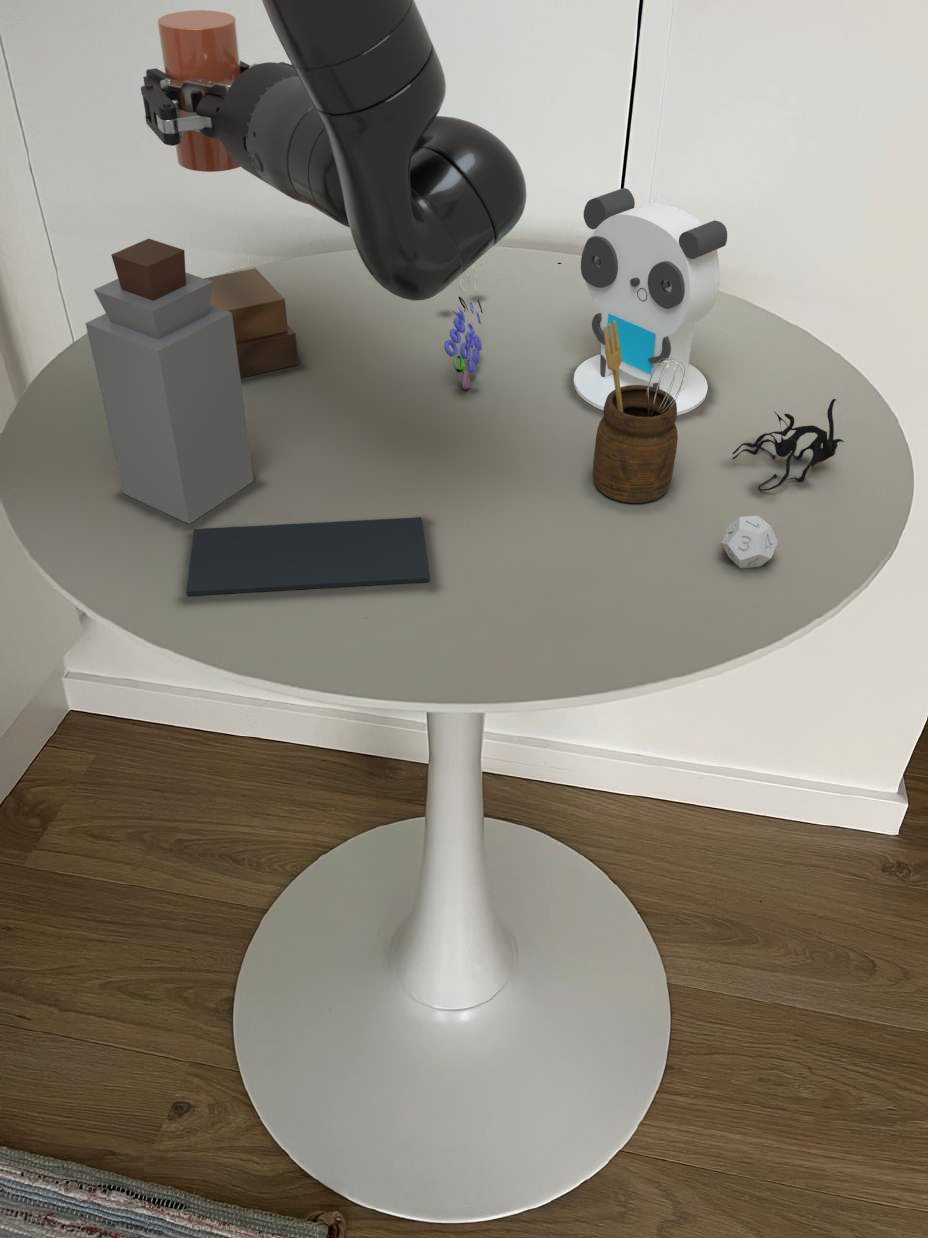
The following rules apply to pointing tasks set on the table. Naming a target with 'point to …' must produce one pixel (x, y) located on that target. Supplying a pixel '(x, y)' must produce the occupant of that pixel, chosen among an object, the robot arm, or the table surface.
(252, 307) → the block stack
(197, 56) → the canister
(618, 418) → the utensil holder
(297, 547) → the mat
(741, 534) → the game die
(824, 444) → the creature
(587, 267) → the panda figurine
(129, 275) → the perfume bottle
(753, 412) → the table surface
